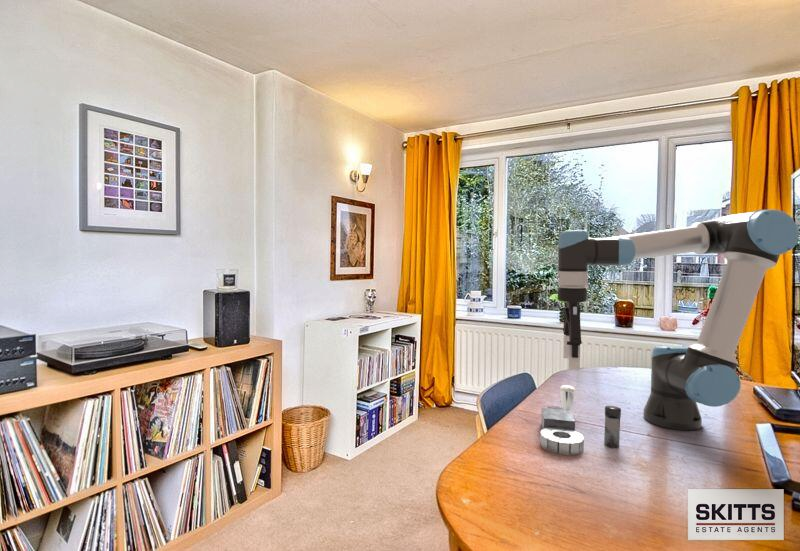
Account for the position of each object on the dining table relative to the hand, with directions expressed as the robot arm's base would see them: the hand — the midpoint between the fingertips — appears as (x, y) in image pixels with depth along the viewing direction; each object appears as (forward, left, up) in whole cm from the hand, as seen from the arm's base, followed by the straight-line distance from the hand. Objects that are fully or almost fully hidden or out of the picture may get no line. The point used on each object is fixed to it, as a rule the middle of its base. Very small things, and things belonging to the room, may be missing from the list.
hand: (571, 363), depth 122 cm
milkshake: (-2, -18, -20) cm, 27 cm away
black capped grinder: (-10, +4, -20) cm, 23 cm away
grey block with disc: (+3, +2, -20) cm, 21 cm away
